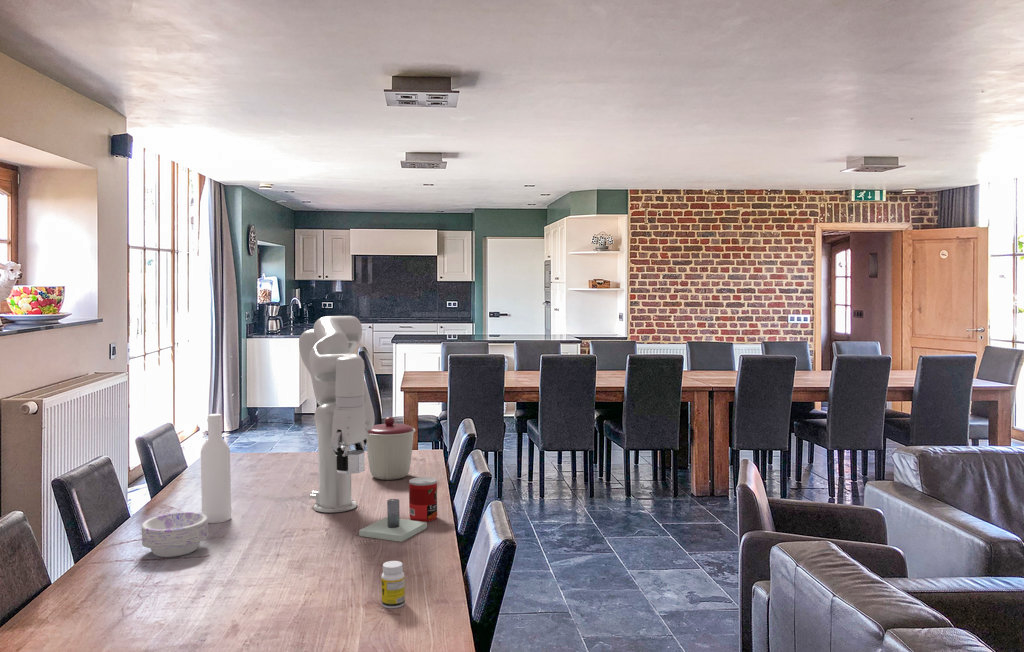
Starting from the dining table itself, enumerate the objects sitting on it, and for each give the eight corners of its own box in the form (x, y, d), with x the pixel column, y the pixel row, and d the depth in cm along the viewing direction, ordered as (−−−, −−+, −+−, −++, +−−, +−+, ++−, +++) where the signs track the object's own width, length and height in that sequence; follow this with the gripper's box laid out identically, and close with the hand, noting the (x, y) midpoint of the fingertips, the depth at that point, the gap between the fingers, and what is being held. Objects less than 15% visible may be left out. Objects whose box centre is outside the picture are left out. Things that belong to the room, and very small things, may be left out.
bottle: (236, 519, 219) (234, 414, 218) (209, 525, 213) (207, 417, 212) (223, 513, 224) (221, 411, 223) (196, 519, 219) (194, 414, 218)
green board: (359, 535, 203) (359, 530, 203) (386, 522, 215) (386, 517, 215) (401, 541, 198) (401, 536, 198) (426, 527, 210) (426, 522, 210)
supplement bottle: (382, 600, 160) (382, 560, 159) (405, 599, 160) (405, 559, 160) (380, 609, 155) (380, 568, 155) (404, 608, 155) (403, 567, 155)
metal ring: (332, 472, 207) (332, 453, 207) (347, 466, 213) (347, 448, 213) (354, 474, 204) (353, 456, 204) (368, 469, 211) (368, 451, 210)
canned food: (432, 523, 214) (432, 483, 214) (405, 521, 216) (405, 482, 215) (440, 515, 222) (440, 477, 221) (414, 513, 223) (413, 476, 223)
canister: (426, 474, 272) (425, 415, 272) (392, 485, 257) (391, 422, 256) (387, 468, 282) (387, 411, 281) (352, 478, 267) (352, 418, 266)
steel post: (385, 527, 205) (384, 501, 205) (391, 523, 208) (391, 498, 208) (395, 528, 204) (395, 502, 204) (401, 525, 207) (401, 499, 207)
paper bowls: (143, 565, 181) (142, 532, 181) (141, 547, 195) (140, 516, 195) (212, 555, 188) (211, 523, 188) (205, 538, 202) (204, 508, 202)
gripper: (356, 397, 217) (357, 459, 218) (318, 406, 201) (319, 473, 202) (379, 398, 214) (380, 462, 215) (342, 407, 199) (343, 475, 199)
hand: (350, 466), depth 209 cm, fingers closed on metal ring, 7 cm apart
